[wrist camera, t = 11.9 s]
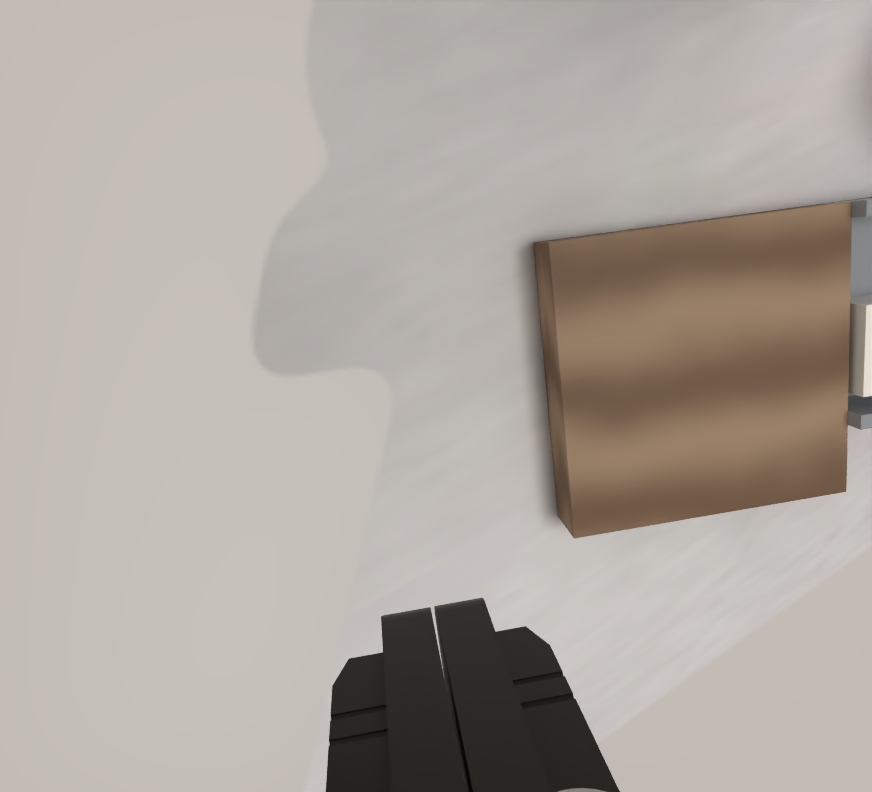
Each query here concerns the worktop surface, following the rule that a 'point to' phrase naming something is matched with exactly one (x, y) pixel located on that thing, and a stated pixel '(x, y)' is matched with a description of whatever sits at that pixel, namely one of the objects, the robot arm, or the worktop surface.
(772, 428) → the walnut board
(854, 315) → the tile
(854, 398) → the grey tray
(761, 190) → the worktop surface
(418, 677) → the robot arm
